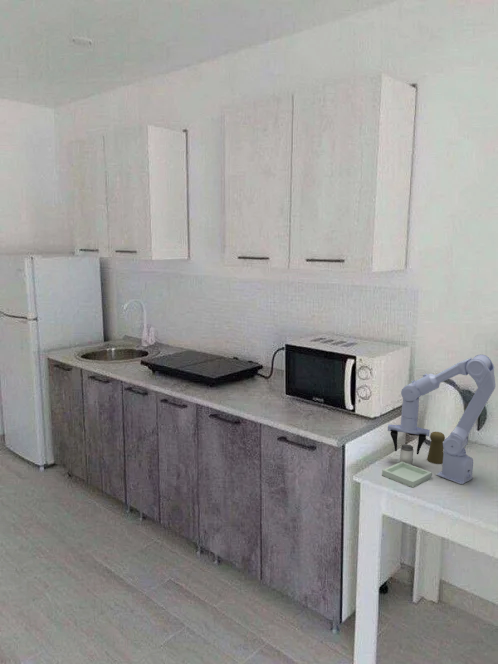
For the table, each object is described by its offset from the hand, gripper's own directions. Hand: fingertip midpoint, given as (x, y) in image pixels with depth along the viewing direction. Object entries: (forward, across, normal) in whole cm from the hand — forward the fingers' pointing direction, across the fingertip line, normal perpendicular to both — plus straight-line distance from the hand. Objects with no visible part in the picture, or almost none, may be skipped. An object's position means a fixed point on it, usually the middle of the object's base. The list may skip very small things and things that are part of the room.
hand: (406, 451), depth 191 cm
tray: (+5, -1, +11) cm, 12 cm away
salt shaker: (+5, 0, 0) cm, 5 cm away
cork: (+5, -10, -8) cm, 14 cm away
